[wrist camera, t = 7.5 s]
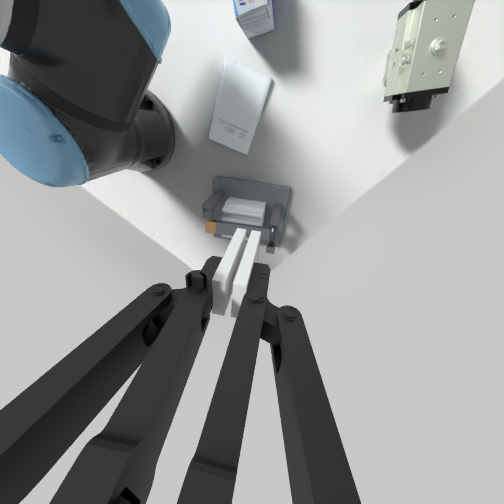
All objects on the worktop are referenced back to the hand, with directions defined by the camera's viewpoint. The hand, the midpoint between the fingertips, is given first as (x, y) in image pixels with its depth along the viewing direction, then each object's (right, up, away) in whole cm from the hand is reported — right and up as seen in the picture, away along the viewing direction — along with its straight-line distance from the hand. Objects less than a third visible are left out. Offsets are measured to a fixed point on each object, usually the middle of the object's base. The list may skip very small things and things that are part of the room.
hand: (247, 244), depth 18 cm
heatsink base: (0, +8, +31) cm, 32 cm away
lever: (-2, +4, +24) cm, 24 cm away
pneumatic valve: (+22, +28, +15) cm, 39 cm away
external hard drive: (-2, +25, +22) cm, 33 cm away
